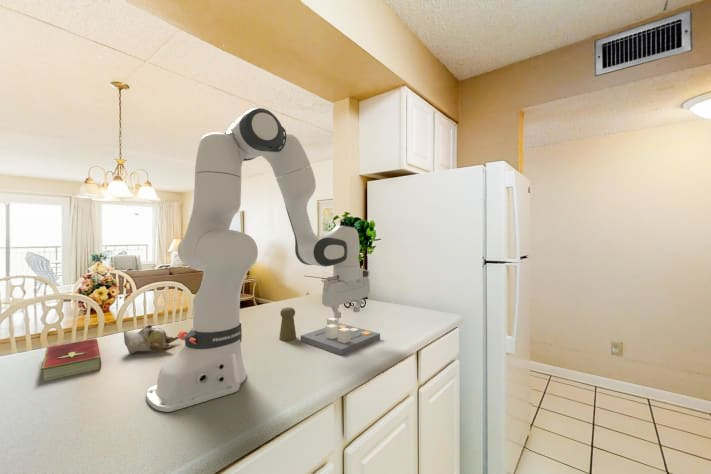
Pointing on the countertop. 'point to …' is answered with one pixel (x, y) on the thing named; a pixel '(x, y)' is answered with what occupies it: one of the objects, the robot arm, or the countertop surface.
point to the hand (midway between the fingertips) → (347, 314)
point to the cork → (287, 324)
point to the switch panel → (357, 341)
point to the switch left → (332, 321)
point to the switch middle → (331, 331)
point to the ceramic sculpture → (148, 340)
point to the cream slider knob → (344, 335)
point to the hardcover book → (71, 359)
